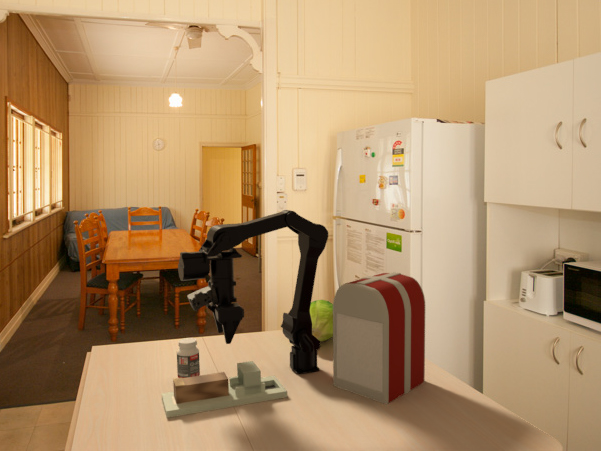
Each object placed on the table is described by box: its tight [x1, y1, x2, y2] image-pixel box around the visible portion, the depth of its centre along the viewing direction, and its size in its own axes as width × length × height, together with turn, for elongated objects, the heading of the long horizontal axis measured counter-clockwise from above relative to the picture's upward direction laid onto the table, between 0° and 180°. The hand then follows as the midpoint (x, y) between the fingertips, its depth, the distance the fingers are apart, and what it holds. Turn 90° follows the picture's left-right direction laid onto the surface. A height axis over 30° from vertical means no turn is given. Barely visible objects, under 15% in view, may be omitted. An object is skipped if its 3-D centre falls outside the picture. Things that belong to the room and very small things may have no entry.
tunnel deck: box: [161, 360, 288, 419], centre depth 126 cm, size 28×10×7 cm, turn 110°
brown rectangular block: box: [172, 371, 229, 404], centre depth 124 cm, size 12×4×4 cm, turn 110°
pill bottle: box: [176, 337, 201, 378], centre depth 139 cm, size 6×6×10 cm
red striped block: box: [332, 271, 426, 405], centre depth 132 cm, size 17×18×27 cm
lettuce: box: [310, 299, 333, 342], centre depth 166 cm, size 13×23×12 cm, turn 170°
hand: (224, 338), depth 133 cm, fingers open, 9 cm apart
